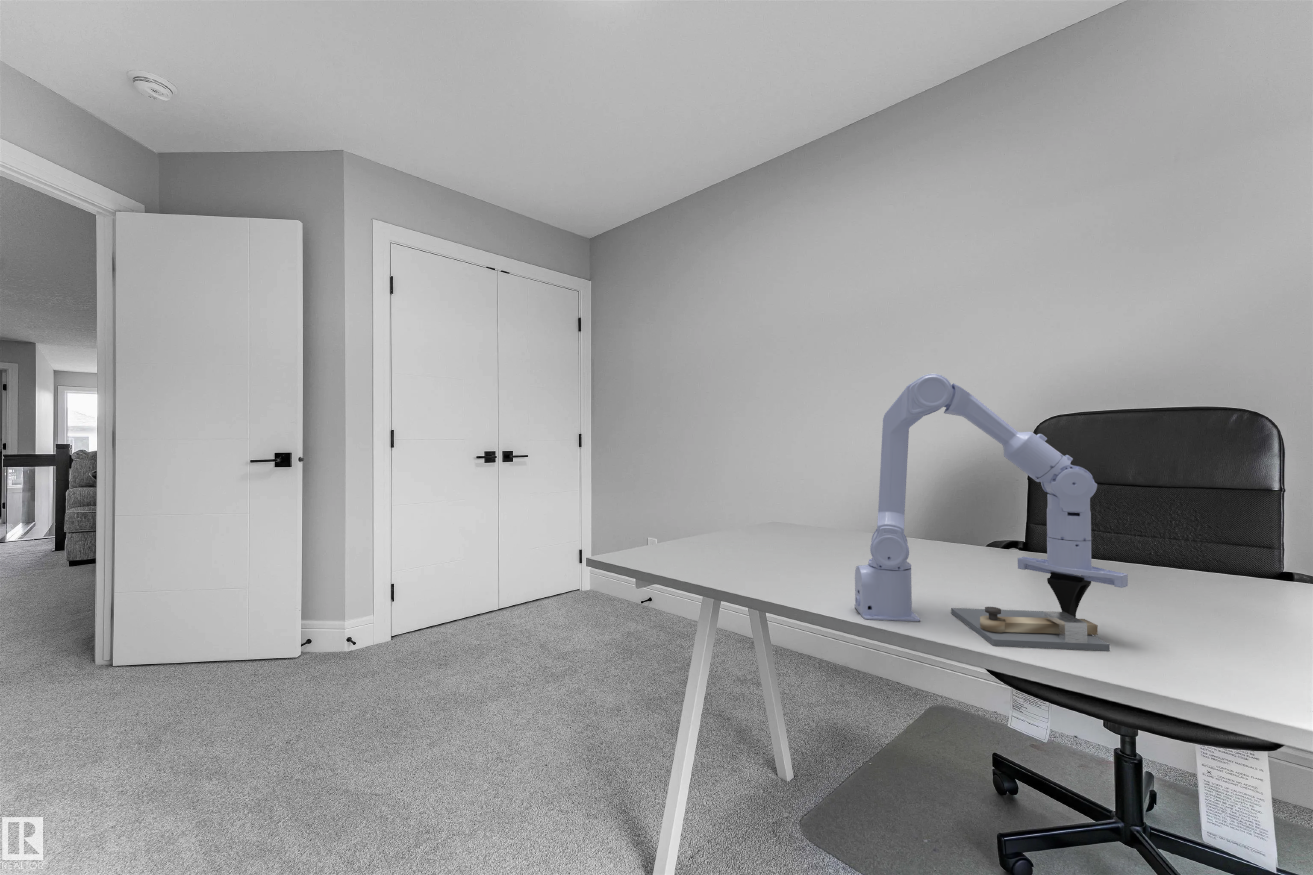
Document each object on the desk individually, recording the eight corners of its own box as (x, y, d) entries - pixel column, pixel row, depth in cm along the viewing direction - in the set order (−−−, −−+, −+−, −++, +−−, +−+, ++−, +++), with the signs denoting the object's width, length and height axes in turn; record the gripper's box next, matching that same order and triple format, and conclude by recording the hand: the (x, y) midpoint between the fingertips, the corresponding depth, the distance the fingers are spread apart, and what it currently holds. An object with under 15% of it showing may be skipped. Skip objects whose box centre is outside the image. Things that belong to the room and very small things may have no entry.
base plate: (993, 645, 81) (993, 639, 81) (951, 613, 97) (951, 607, 97) (1109, 650, 79) (1109, 644, 79) (1046, 616, 95) (1046, 611, 95)
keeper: (1065, 642, 80) (1064, 622, 80) (1044, 629, 85) (1043, 611, 85) (1087, 643, 79) (1086, 623, 79) (1064, 630, 85) (1064, 611, 85)
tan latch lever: (987, 632, 84) (986, 611, 84) (975, 624, 87) (975, 604, 87) (1099, 635, 82) (1098, 614, 82) (1082, 627, 86) (1082, 607, 86)
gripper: (1135, 542, 82) (1137, 630, 82) (1031, 530, 95) (1032, 606, 95) (1115, 547, 79) (1117, 639, 79) (1010, 533, 91) (1011, 612, 91)
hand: (1069, 621), depth 86 cm, fingers closed, pressing on tan latch lever
